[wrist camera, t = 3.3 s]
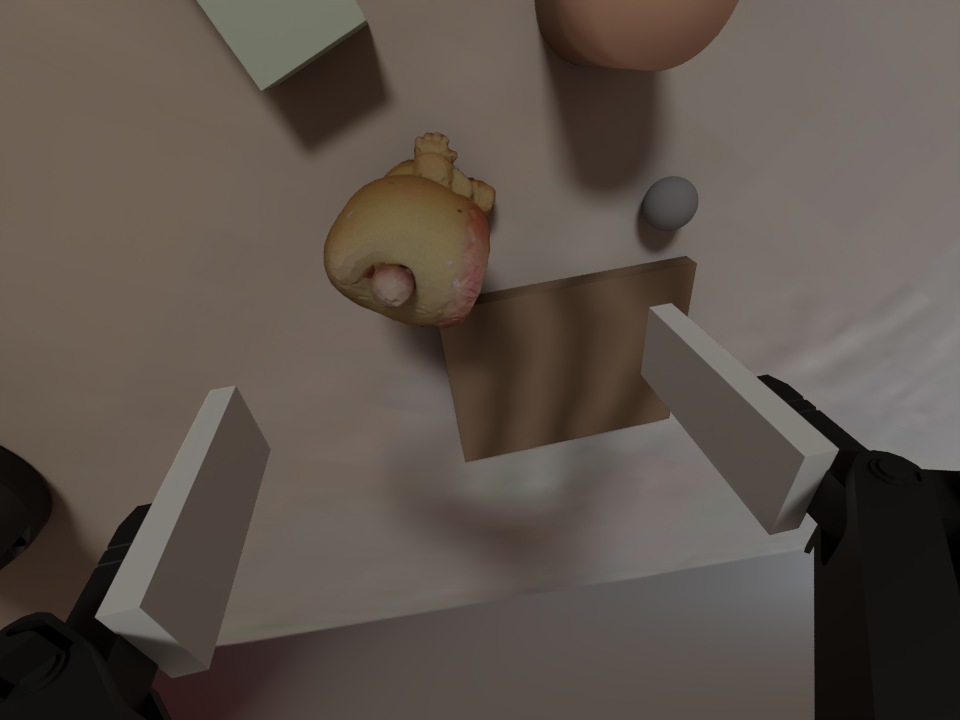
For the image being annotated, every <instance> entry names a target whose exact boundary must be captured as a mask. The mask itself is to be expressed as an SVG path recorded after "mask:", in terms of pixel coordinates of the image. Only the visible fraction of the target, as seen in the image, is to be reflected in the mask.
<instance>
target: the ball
mask: <svg viewBox="0 0 960 720" xmlns="http://www.w3.org/2000/svg"><path fill="white" fill-rule="evenodd" d="M697 207H698V194H697V191H696V189H695V187H694V186H693V184H692V183H690V182H689V181H688V180H686V179H684V178H681V177H667V178H663V179H661V180H659V181H657V182H656V183H655V184H653V185H652V186H651V187H650V189H649V190H648V191H647V193H646V195H645V197H644V200H643V214H644V217H645V219H646V220H647V222H648V223H649V224H650V225H651V226H652V227H654V228H656V229H658V230H663V231H672V230H676V229H678V228H681V227H682V226H684V225H685V224H687V223H688V222H689V221H690V220H691V219H692V217H693V216H694V214H695V212H696V210H697Z"/></svg>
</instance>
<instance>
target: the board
mask: <svg viewBox="0 0 960 720" xmlns="http://www.w3.org/2000/svg"><path fill="white" fill-rule="evenodd" d="M696 266H697V263H696V262H694V261H693V260H691V259H690V258H688V257H687V256H684V257H678V258H673V259H668V260H662V261H657V262H651V263H646V264H641V265H635V266H630V267H625V268H619V269H614V270H608V271H603V272H598V273H592V274H587V275H581V276H576V277H571V278H565V279H560V280H555V281H549V282H544V283H538V284H533V285H528V286H522V287H517V288H511V289H506V290H501V291H495V292H490V293H484V294H479V296H478V298H477V299H476V301H475V303H474V305H473V306H472V308H471V311H470V313H469V315H467V316H466V318H465V319H464V321H463V322H462V323H460V324H459V325H456V326H452V327H449V328H440V327H439V330H440V335H441V341H442V346H443V351H444V356H445V361H446V366H447V371H448V377H449V382H450V387H451V392H452V397H453V402H454V407H455V412H456V418H457V423H458V428H459V433H460V438H461V443H462V448H463V453H464V458H465V462H469V461H473V460H478V459H482V458H487V457H492V456H496V455H501V454H506V453H510V452H515V451H520V450H524V449H529V448H534V447H538V446H543V445H548V444H552V443H557V442H561V441H566V440H571V439H575V438H580V437H585V436H589V435H594V434H599V433H603V432H608V431H613V430H617V429H622V428H627V427H631V426H636V425H640V424H645V423H650V422H654V421H659V420H664V419H668V418H669V416H670V410H669V409H668V408H667V406H666V405H665V404H664V403H663V401H662V400H661V399H660V398H659V396H658V395H657V394H656V393H655V391H654V390H653V389H652V388H651V386H650V385H649V384H648V383H647V381H646V380H645V379H644V378H643V376H642V375H641V368H642V360H643V352H644V344H645V336H646V329H647V321H648V313H649V307H653V306H658V305H664V304H669V303H672V304H673V305H674V306H675V307H677V308H678V309H679V310H680V311H681V312H682V313H683V314H685V315H686V316H688V310H689V305H690V299H691V293H692V288H693V282H694V277H695V271H696Z"/></svg>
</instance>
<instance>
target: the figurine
mask: <svg viewBox="0 0 960 720" xmlns="http://www.w3.org/2000/svg"><path fill="white" fill-rule="evenodd" d="M448 142H449V139H448V138H447V137H446V136H444V135H442V134H440V133H437V132H436V133H434V134H433V133H426V134H425V135H424V137H417V138H416V139H415V149H414V153H415V159H414V160H407V161H404V162H402V163H400V164H399V165H397V166H396V167H394V168H393V169H391V170H390V171H389V172H388V173H387V174H386V175H385V177H384V178H381V179H378V180H375V181H373V182H371V183H369V184H367V185H365V186H363V187H362V188H361V189H360V190H359V191H357V192H356V193H355V194H354V195H353V196H352V197H351V199H350V200H349V201H348V203H347V204H346V206H345V207H344V208H343V210H342V211H341V213H340V214H339V216H338V217H337V219H336V221H335V223H334V224H333V226H332V227H331V229H330V231H329V234H328V236H327V239H326V242H325V245H324V266H325V270H326V273H327V276H328V278H329V280H330V282H331V283H332V285H333V286H334V287H335V288H336V289H337V290H338V291H339V292H340V293H342V294H343V295H344V296H345V297H347V298H348V299H350V300H351V301H353V302H354V303H356V304H358V305H360V306H362V307H364V308H367V309H370V310H372V311H375V312H377V313H380V314H382V315H385V316H387V317H389V318H391V319H392V320H396V321H400V322H403V323H406V324H412V325H419V326H421V327H425V326H437V327H440V328H449V327H452V326H456V325H459V324H460V323H462V322H463V321H464V319H465V318H466V316H467V315H469V313H470V311H471V308H472V306H473V305H474V303H475V301H476V299H477V298H478V296H479V294H480V291H481V288H482V284H483V280H484V276H485V271H486V267H487V263H488V258H489V253H490V230H489V223H488V220H487V218H486V216H487V215H489V214H490V211H491V209H492V208H493V206H494V202H495V190H494V188H493V187H492V186H489V185H487V184H486V183H484V182H483V181H478V180H475V179H474V178H467V177H466V176H465V175H464V174H463V173H462V172H460V171H459V170H458V169H456V168H455V167H454V166H453V165H452V164H453V162H454V161H455V160H456V158H457V157H458V156H457V153H456V152H455V151H452V150H450V149H449V147H448Z"/></svg>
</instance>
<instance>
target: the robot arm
mask: <svg viewBox="0 0 960 720" xmlns="http://www.w3.org/2000/svg"><path fill="white" fill-rule="evenodd" d="M641 375H642V376H643V378H644V379H645V380H646V381H647V383H648V384H649V385H650V386H651V388H652V389H653V390H654V391H655V393H656V394H657V395H658V396H659V398H660V399H661V400H662V401H663V403H664V404H665V405H666V406H667V408H668V409H669V410H670V411H671V413H672V414H673V415H674V416H675V418H676V419H677V420H678V421H679V423H680V424H681V425H682V426H683V428H684V429H685V430H686V431H687V433H688V434H689V435H690V436H691V438H692V439H693V440H694V441H695V443H696V444H697V445H698V446H699V448H700V449H701V450H702V451H703V453H704V454H705V455H706V456H707V458H708V459H709V460H710V461H711V463H712V464H713V465H714V466H715V468H716V469H717V470H718V471H719V473H720V474H721V475H722V476H723V478H724V479H725V480H726V481H727V483H728V484H729V485H730V486H731V488H732V489H733V490H734V491H735V493H736V494H737V495H738V496H739V498H740V499H741V500H742V501H743V503H744V504H745V505H746V506H747V508H748V509H749V510H750V511H751V513H752V514H753V515H754V516H755V518H756V519H757V520H758V521H759V523H760V524H761V525H762V526H763V528H764V529H765V530H766V531H767V533H768V534H769V535H772V534H776V533H780V532H784V531H789V530H793V529H797V528H799V526H800V525H801V523H802V521H803V519H804V517H805V515H806V513H808V514H809V515H810V516H811V517H812V518H813V519H814V521H815V522H816V523H817V524H818V525H817V526H816V528H815V530H814V532H813V534H812V535H811V537H810V539H809V541H808V543H807V545H806V547H805V550H804V552H805V553H808V554H809V553H810V552H811V550H812V549H813V547H814V639H815V640H814V646H815V647H814V648H815V650H814V652H815V653H814V655H815V656H814V662H815V663H814V664H815V720H960V471H947V470H928V469H921V468H920V467H919V466H917V465H916V464H914V463H912V462H911V461H909V460H907V459H905V458H903V457H901V456H898V455H895V454H892V453H889V452H883V451H876V450H872V451H869V450H868V449H866V448H865V447H864V446H862V445H861V444H860V443H859V442H858V441H856V440H855V439H854V438H853V437H851V436H850V435H849V434H848V433H847V432H845V431H844V430H843V429H842V428H841V427H839V426H838V425H837V424H836V423H834V422H833V421H832V420H831V419H830V418H828V417H827V416H826V415H825V414H823V413H822V412H821V411H820V410H818V411H817V410H816V407H815V406H814V405H813V404H811V403H810V402H809V401H808V400H804V399H803V396H802V395H800V394H799V393H798V392H797V391H795V390H794V389H793V388H792V387H791V386H789V385H788V384H786V383H784V382H782V381H780V380H778V379H776V378H774V377H772V376H769V375H762V376H758V377H756V376H755V375H753V374H752V373H751V372H750V371H749V370H748V369H747V368H745V367H744V366H743V365H742V364H741V363H740V362H739V361H737V360H736V359H735V358H734V357H733V356H732V355H731V354H729V353H728V352H727V351H726V350H725V349H724V348H722V347H721V346H720V345H719V344H718V343H717V342H716V341H714V340H713V339H712V338H711V337H710V336H709V335H708V334H706V333H705V332H704V331H703V330H702V329H701V328H700V327H698V326H697V325H696V324H695V323H694V322H693V321H691V320H690V319H689V318H688V317H687V316H686V315H685V314H683V313H682V312H681V311H680V310H679V309H678V308H677V307H675V306H674V305H673V304H672V303H669V304H664V305H658V306H653V307H649V313H648V321H647V329H646V336H645V344H644V352H643V360H642V368H641ZM269 453H270V447H269V445H268V444H267V442H266V440H265V438H264V436H263V434H262V432H261V431H260V429H259V427H258V425H257V423H256V421H255V420H254V418H253V416H252V414H251V412H250V410H249V409H248V407H247V405H246V403H245V401H244V399H243V398H242V396H241V394H240V392H239V390H238V388H237V387H236V386H231V387H226V388H220V389H215V390H210V391H209V393H208V395H207V397H206V399H205V401H204V403H203V405H202V407H201V409H200V411H199V413H198V415H197V417H196V419H195V421H194V423H193V425H192V427H191V429H190V430H189V432H188V434H187V436H186V438H185V440H184V442H183V444H182V446H181V448H180V450H179V452H178V454H177V456H176V458H175V460H174V462H173V464H172V466H171V468H170V470H169V472H168V474H167V476H166V478H165V480H164V482H163V484H162V486H161V488H160V490H159V492H158V493H157V495H156V497H155V499H154V501H153V503H151V504H146V505H142V506H137V507H136V508H135V510H134V511H133V512H132V513H131V514H130V515H129V516H128V517H127V518H126V519H125V520H124V521H123V522H122V523H121V524H120V525H119V527H118V528H117V530H116V532H115V534H114V536H113V537H112V539H111V541H110V543H109V545H108V550H107V551H105V552H104V554H103V556H102V557H101V559H100V561H99V563H98V568H95V570H94V572H93V574H92V575H91V577H90V579H89V581H88V583H87V584H86V586H85V588H84V590H83V592H82V593H81V595H80V597H79V599H78V601H77V602H76V604H75V606H74V608H73V610H72V611H71V613H70V615H69V617H68V619H67V620H66V622H65V623H64V622H63V621H61V620H60V619H58V618H57V617H56V616H54V615H53V614H52V613H46V612H37V613H34V614H31V615H27V616H24V617H22V618H20V619H18V620H16V621H15V622H13V623H11V624H9V625H7V626H6V627H4V628H3V629H2V630H0V720H172V719H171V717H170V715H169V713H168V711H167V709H166V707H165V705H164V703H163V701H162V699H161V697H160V695H159V693H158V692H157V691H156V690H155V689H154V688H153V687H152V686H151V685H152V682H153V679H154V677H155V674H156V671H157V669H158V667H159V668H160V669H161V670H162V671H164V672H165V673H166V674H167V675H169V676H170V677H171V678H175V677H179V676H184V675H188V674H191V673H196V672H200V671H204V670H208V669H209V667H210V663H211V660H212V656H213V652H214V649H215V645H216V642H217V638H218V635H219V631H220V628H221V624H222V621H223V617H224V613H225V610H226V606H227V603H228V599H229V596H230V592H231V588H232V585H233V581H234V578H235V574H236V571H237V567H238V563H239V560H240V556H241V553H242V549H243V546H244V542H245V538H246V535H247V531H248V528H249V524H250V521H251V517H252V513H253V510H254V506H255V503H256V499H257V496H258V492H259V489H260V485H261V481H262V478H263V474H264V471H265V467H266V464H267V460H268V456H269ZM51 510H52V501H51V497H50V494H49V491H48V489H47V487H46V486H45V484H44V483H43V481H42V480H41V479H40V477H39V476H38V475H37V474H36V473H35V472H34V471H33V470H32V469H31V468H30V467H29V466H27V465H26V464H25V463H24V462H22V461H21V460H19V459H18V458H17V457H15V456H13V455H12V454H10V453H9V452H7V451H5V450H3V449H2V448H0V570H1V569H2V568H4V567H5V566H6V565H7V564H9V563H10V562H11V561H13V560H14V559H15V558H16V557H18V556H19V555H20V554H21V553H23V552H24V551H25V550H26V549H27V548H28V547H29V546H30V545H31V543H32V542H33V541H34V539H35V538H36V537H37V535H38V534H39V532H40V531H41V530H42V528H43V527H44V526H45V524H46V523H47V521H48V519H49V517H50V515H51Z"/></svg>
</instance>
